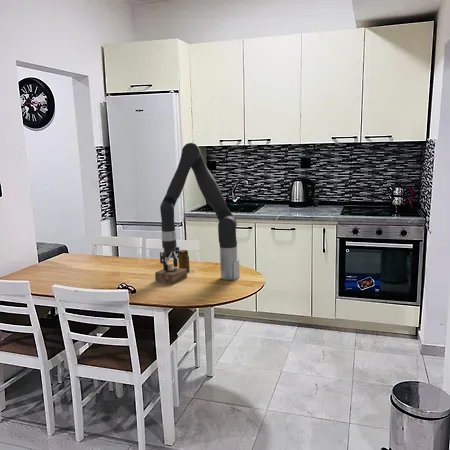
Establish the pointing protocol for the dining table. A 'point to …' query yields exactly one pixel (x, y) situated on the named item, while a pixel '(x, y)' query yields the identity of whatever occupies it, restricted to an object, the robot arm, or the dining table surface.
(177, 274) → the socket block
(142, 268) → the dining table surface
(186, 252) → the condiment
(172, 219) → the robot arm
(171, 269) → the peg
